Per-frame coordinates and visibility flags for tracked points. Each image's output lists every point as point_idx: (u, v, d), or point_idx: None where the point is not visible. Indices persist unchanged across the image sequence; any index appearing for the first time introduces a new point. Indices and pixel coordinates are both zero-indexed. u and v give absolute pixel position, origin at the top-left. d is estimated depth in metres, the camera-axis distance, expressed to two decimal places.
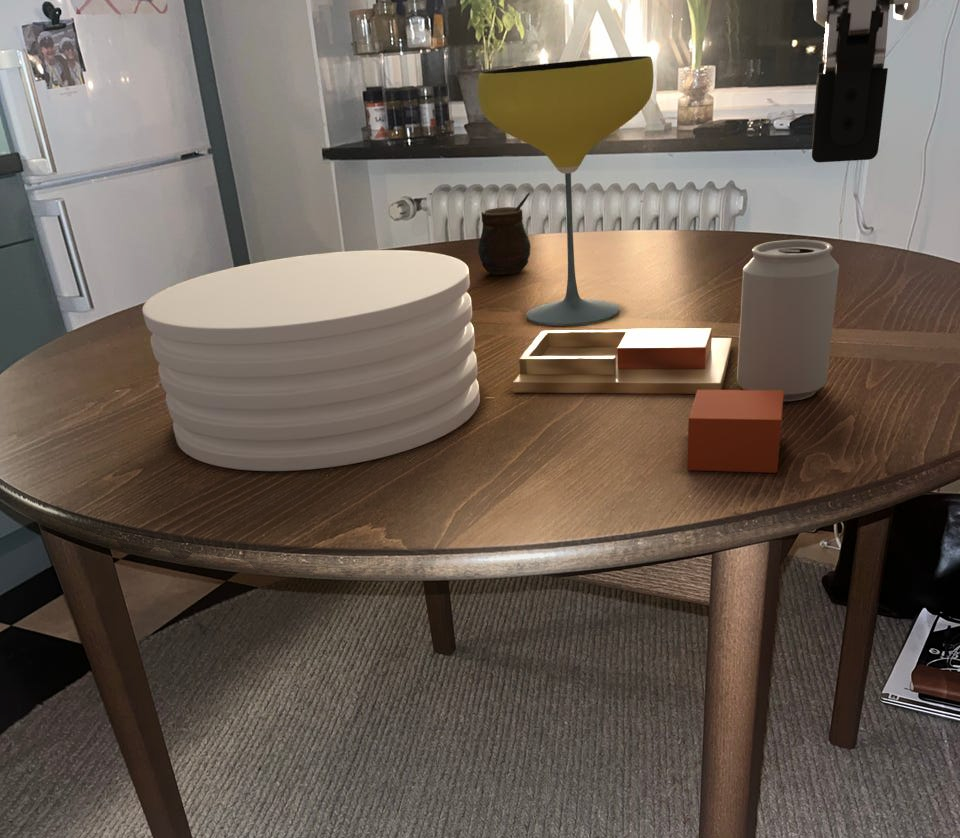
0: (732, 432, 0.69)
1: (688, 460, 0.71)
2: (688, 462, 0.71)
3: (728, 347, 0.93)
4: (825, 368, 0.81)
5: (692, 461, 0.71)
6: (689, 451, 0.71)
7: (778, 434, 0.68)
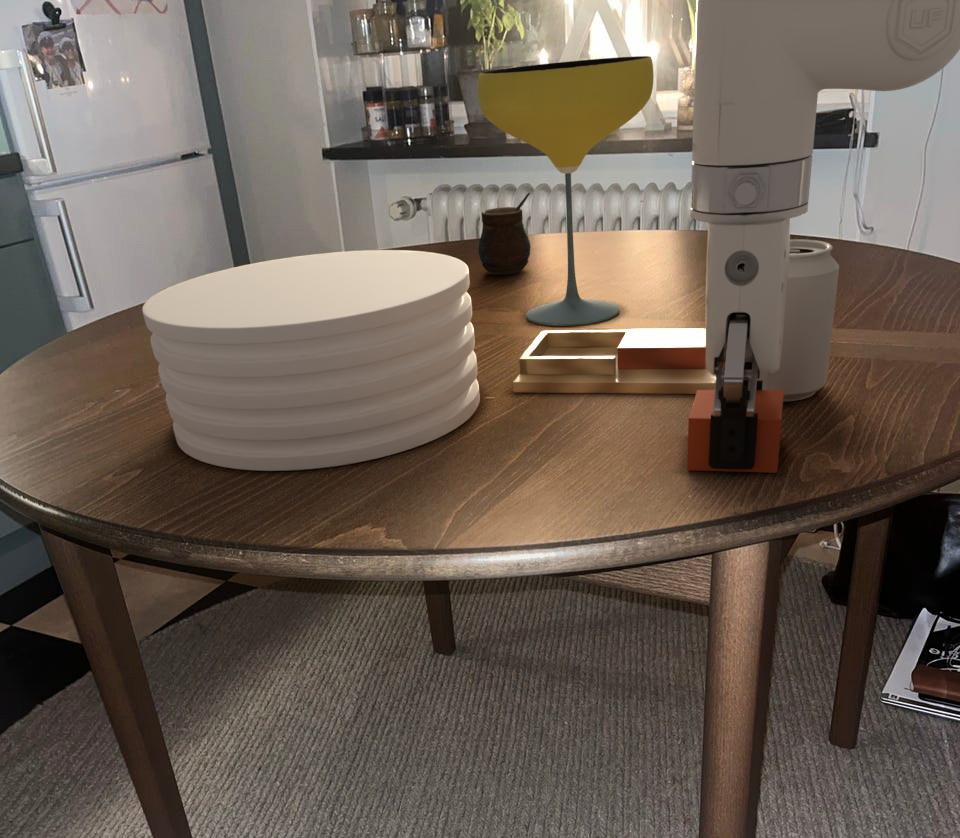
0: None
1: (688, 460, 0.71)
2: (688, 462, 0.71)
3: None
4: (825, 368, 0.81)
5: (692, 461, 0.71)
6: (689, 451, 0.71)
7: (778, 434, 0.68)
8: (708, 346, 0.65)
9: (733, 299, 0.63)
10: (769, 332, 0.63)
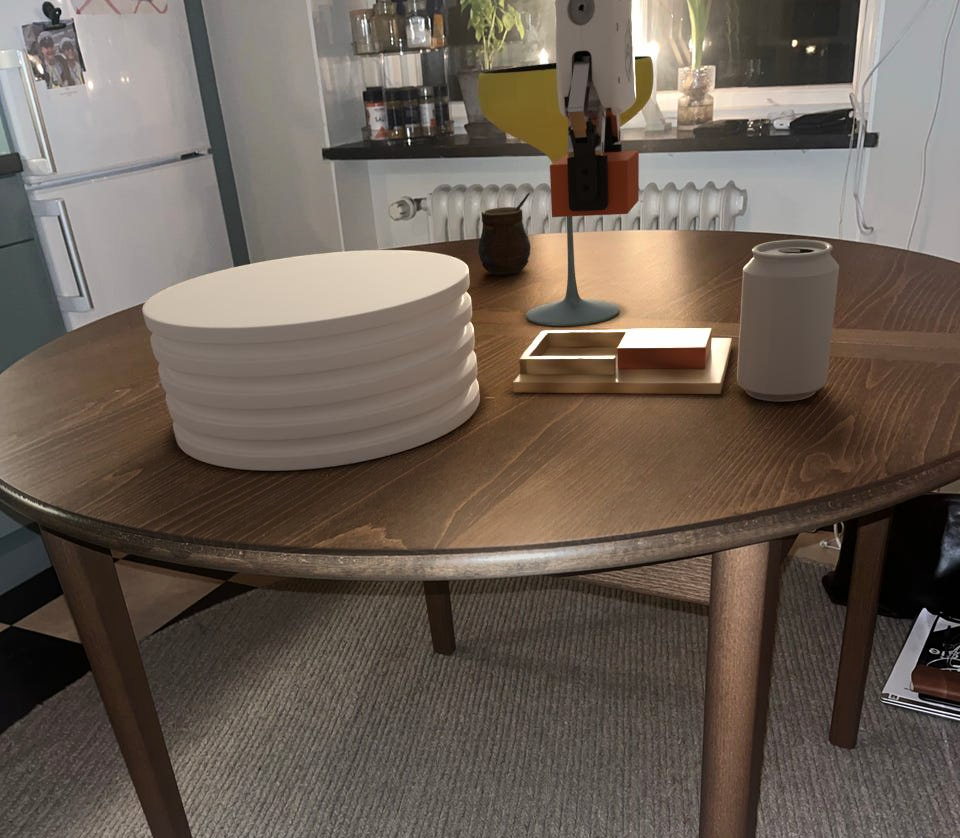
0: None
1: (552, 207, 0.81)
2: (552, 209, 0.81)
3: (728, 347, 0.93)
4: (825, 368, 0.81)
5: (555, 207, 0.81)
6: (552, 198, 0.81)
7: (625, 175, 0.79)
8: (559, 87, 0.75)
9: (576, 39, 0.73)
10: (608, 69, 0.73)
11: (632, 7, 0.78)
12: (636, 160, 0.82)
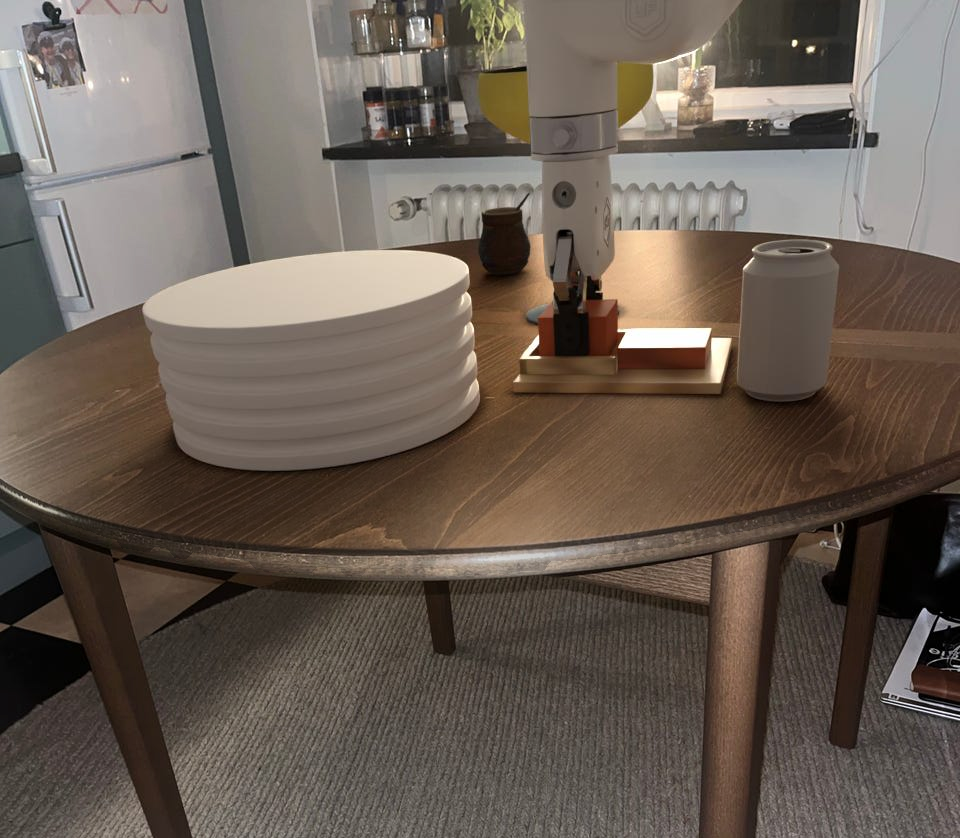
0: None
1: (540, 352, 0.92)
2: (540, 353, 0.92)
3: (728, 347, 0.93)
4: (825, 368, 0.81)
5: (543, 352, 0.92)
6: (540, 344, 0.91)
7: (604, 328, 0.89)
8: (545, 257, 0.85)
9: (559, 219, 0.83)
10: (588, 244, 0.84)
11: None
12: (615, 309, 0.93)
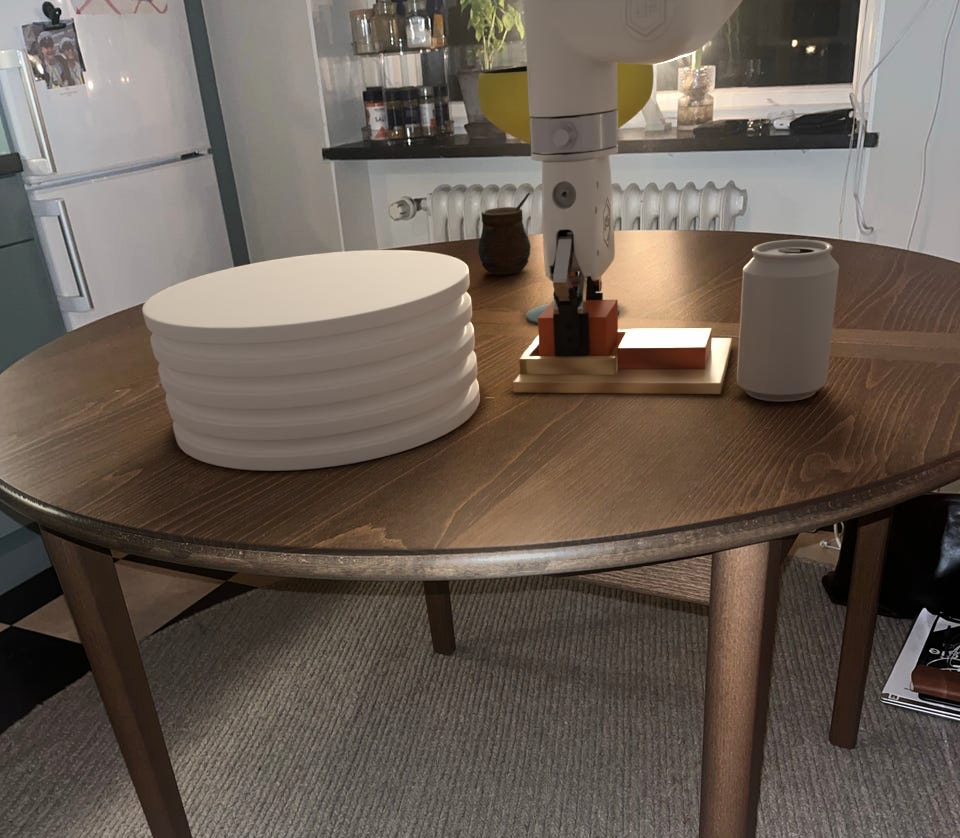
0: None
1: (540, 352, 0.92)
2: (540, 354, 0.92)
3: (728, 347, 0.93)
4: (825, 368, 0.81)
5: (543, 353, 0.92)
6: (540, 345, 0.91)
7: (604, 329, 0.89)
8: (545, 257, 0.85)
9: (560, 219, 0.83)
10: (588, 245, 0.84)
11: None
12: (615, 309, 0.93)
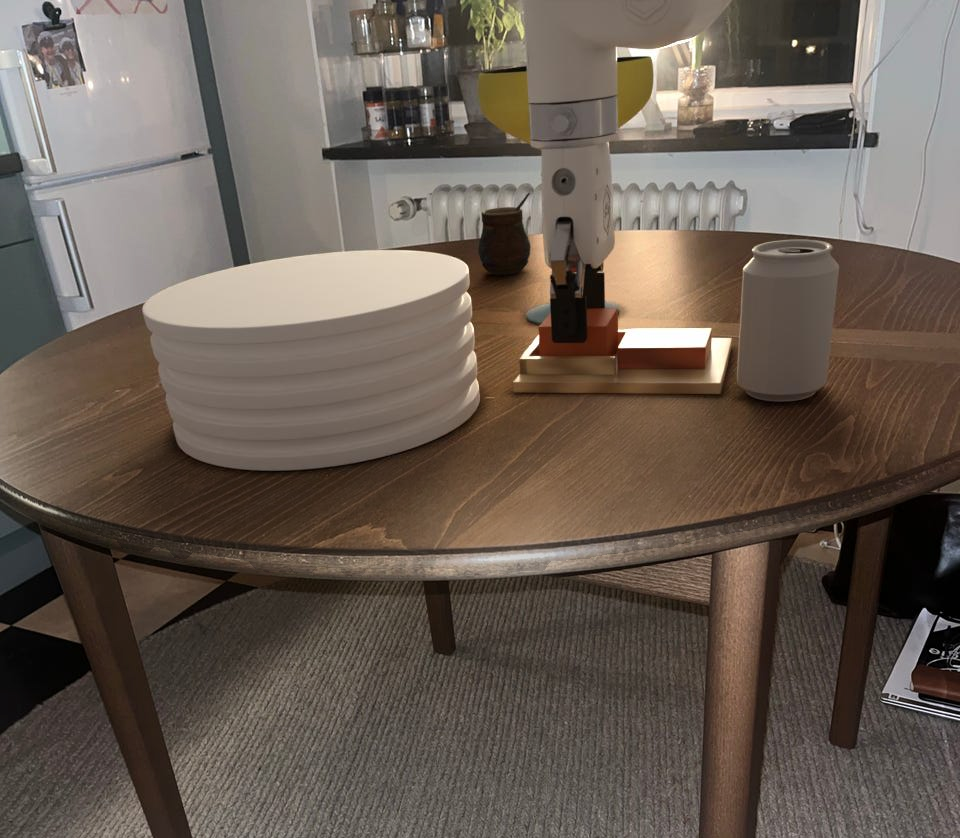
0: None
1: None
2: None
3: (728, 347, 0.93)
4: (825, 368, 0.81)
5: None
6: (541, 353, 0.92)
7: (605, 337, 0.89)
8: (544, 245, 0.85)
9: (559, 206, 0.83)
10: (587, 232, 0.83)
11: (610, 169, 0.87)
12: (615, 318, 0.93)
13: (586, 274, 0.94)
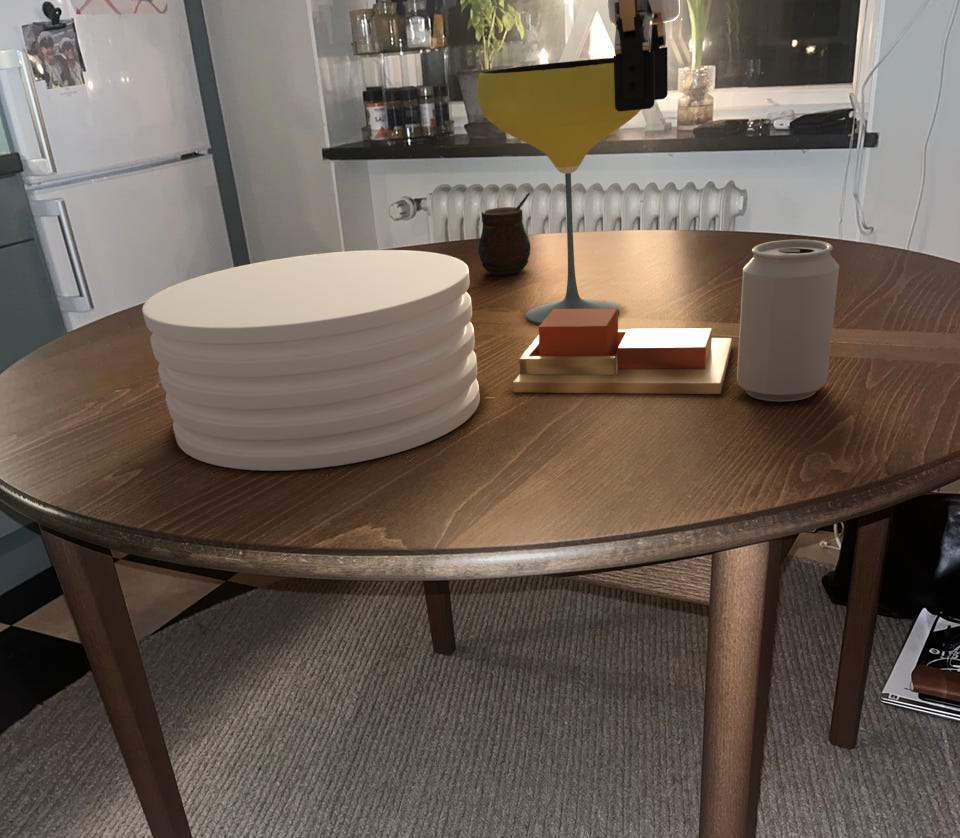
0: (571, 337, 0.90)
1: None
2: None
3: (728, 347, 0.93)
4: (825, 368, 0.81)
5: None
6: (541, 353, 0.92)
7: (605, 337, 0.89)
8: None
9: None
10: None
11: None
12: (615, 318, 0.93)
13: None
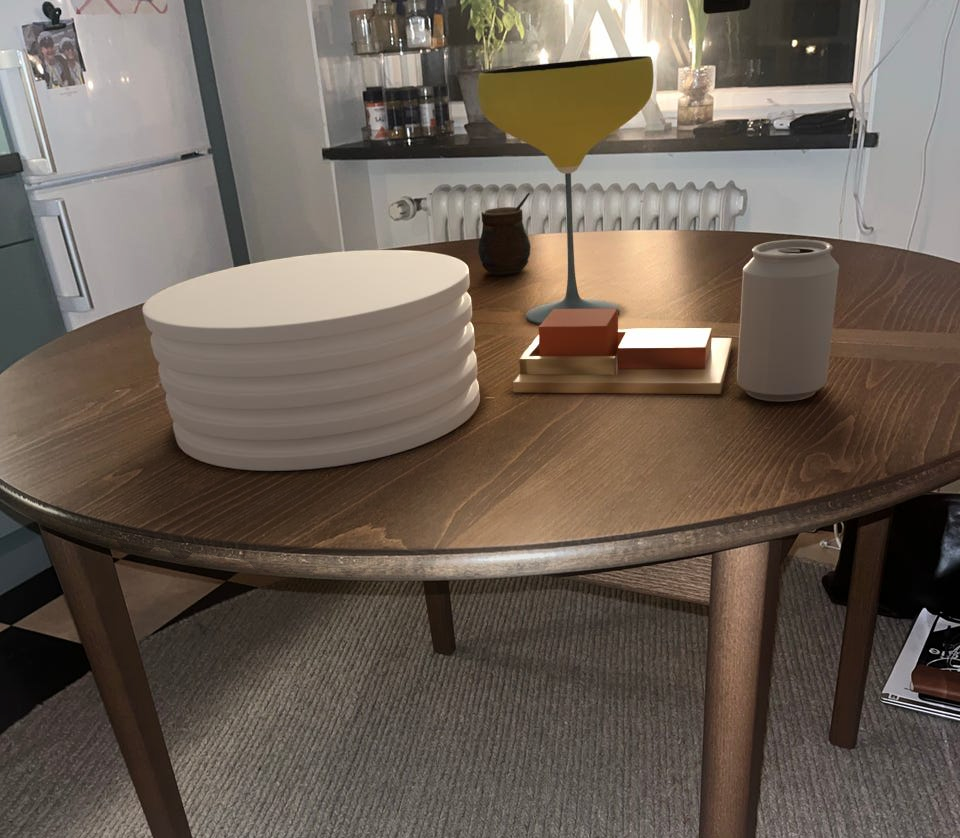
0: (571, 337, 0.90)
1: None
2: None
3: (728, 347, 0.93)
4: (825, 368, 0.81)
5: None
6: (541, 353, 0.92)
7: (605, 337, 0.89)
8: None
9: None
10: None
11: None
12: (615, 318, 0.93)
13: None
